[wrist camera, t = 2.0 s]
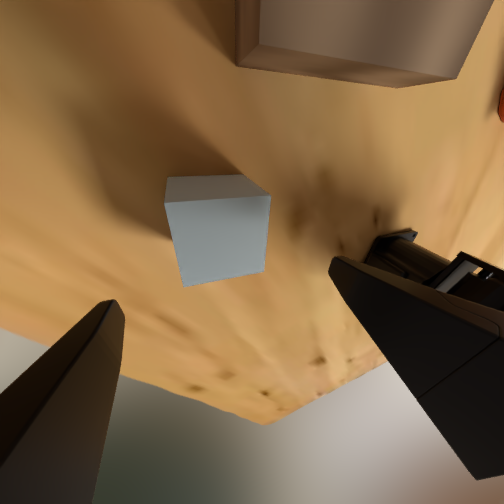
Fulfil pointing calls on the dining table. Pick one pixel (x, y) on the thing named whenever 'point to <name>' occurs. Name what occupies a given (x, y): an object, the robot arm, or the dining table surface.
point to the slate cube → (217, 226)
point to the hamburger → (501, 106)
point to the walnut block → (359, 38)
